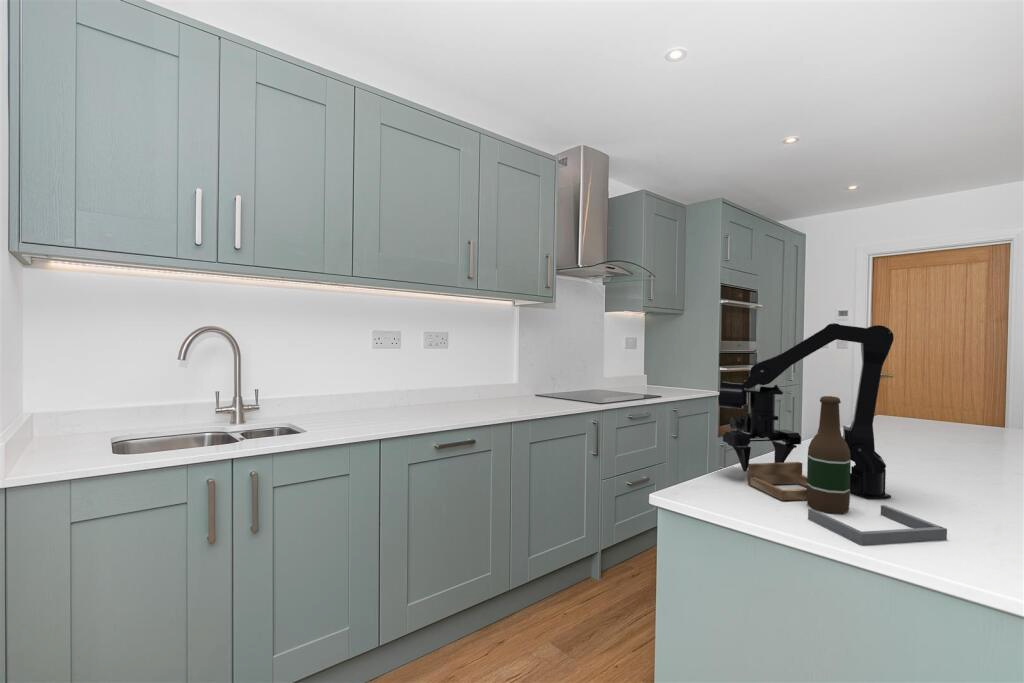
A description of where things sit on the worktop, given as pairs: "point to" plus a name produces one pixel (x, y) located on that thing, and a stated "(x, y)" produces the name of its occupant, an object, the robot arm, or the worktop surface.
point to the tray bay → (918, 533)
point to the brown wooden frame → (778, 479)
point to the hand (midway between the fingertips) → (761, 470)
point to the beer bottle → (829, 463)
